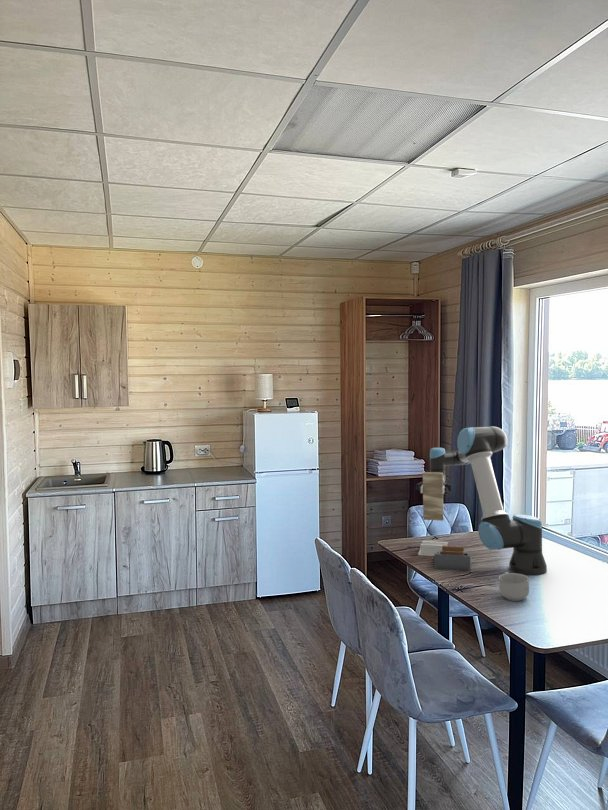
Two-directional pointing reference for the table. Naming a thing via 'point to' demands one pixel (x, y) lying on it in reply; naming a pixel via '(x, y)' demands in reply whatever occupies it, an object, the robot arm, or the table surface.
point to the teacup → (514, 586)
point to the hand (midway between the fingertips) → (432, 490)
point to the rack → (452, 561)
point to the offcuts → (453, 550)
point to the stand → (431, 548)
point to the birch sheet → (432, 496)
